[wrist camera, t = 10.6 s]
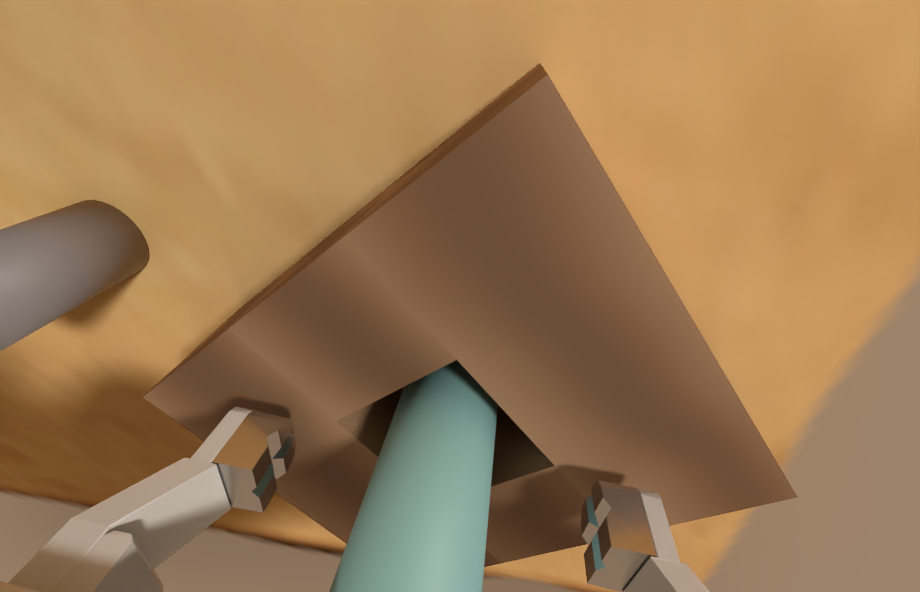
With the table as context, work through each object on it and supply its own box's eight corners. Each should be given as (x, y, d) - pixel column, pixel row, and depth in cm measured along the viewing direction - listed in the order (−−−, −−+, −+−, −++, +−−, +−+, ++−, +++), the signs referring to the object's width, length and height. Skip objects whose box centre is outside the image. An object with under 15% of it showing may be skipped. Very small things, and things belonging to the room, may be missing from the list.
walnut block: (429, 474, 20) (403, 584, 16) (241, 306, 16) (142, 397, 12) (719, 366, 15) (797, 496, 10) (540, 63, 10) (547, 74, 6)
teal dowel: (457, 375, 17) (385, 712, 8) (410, 325, 16) (272, 652, 7) (518, 345, 15) (507, 708, 7) (472, 288, 14) (392, 633, 6)
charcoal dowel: (128, 284, 17) (-7, 365, 12) (59, 228, 16) (-114, 296, 11) (162, 247, 15) (24, 323, 11) (90, 183, 14) (-92, 241, 10)
